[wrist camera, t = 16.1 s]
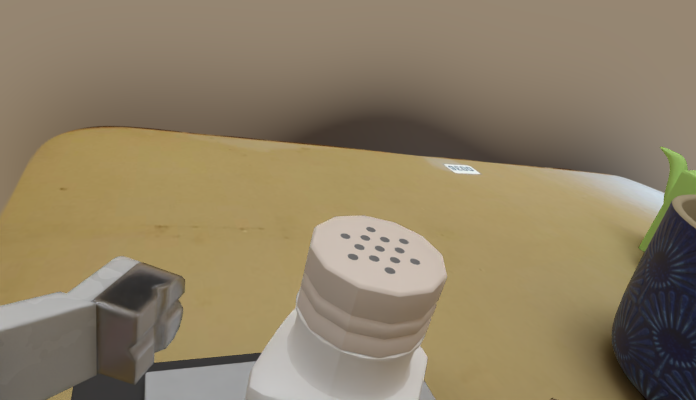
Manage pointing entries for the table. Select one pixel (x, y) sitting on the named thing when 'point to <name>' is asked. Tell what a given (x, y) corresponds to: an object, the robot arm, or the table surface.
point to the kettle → (672, 189)
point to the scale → (184, 381)
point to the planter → (662, 310)
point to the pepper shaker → (355, 317)
